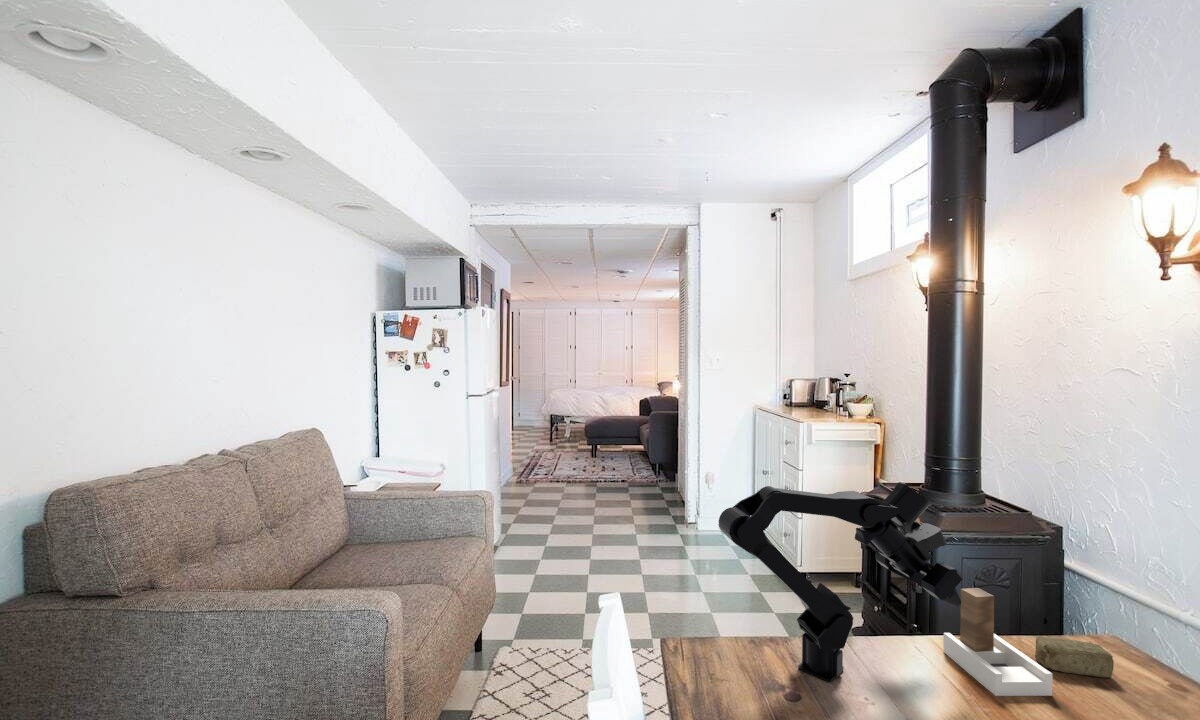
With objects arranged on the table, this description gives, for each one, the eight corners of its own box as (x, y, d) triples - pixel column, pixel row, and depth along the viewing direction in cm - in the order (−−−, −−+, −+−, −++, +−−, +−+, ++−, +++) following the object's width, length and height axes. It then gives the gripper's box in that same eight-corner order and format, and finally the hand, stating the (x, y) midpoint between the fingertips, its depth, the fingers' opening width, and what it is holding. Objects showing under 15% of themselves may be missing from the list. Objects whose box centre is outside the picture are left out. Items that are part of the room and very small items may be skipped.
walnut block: (975, 651, 112) (976, 597, 111) (960, 641, 115) (960, 588, 115) (993, 650, 112) (994, 596, 112) (977, 640, 116) (978, 587, 116)
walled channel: (995, 695, 101) (995, 673, 101) (943, 651, 116) (943, 632, 116) (1052, 695, 101) (1052, 673, 101) (992, 651, 116) (993, 632, 116)
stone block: (1116, 681, 106) (1116, 655, 106) (1044, 672, 109) (1044, 647, 109) (1098, 665, 112) (1098, 640, 112) (1030, 657, 115) (1031, 632, 115)
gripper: (953, 526, 103) (1007, 583, 104) (888, 500, 121) (934, 549, 123) (914, 571, 102) (968, 628, 103) (854, 538, 120) (901, 586, 122)
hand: (941, 594), depth 113 cm, fingers open, 9 cm apart
